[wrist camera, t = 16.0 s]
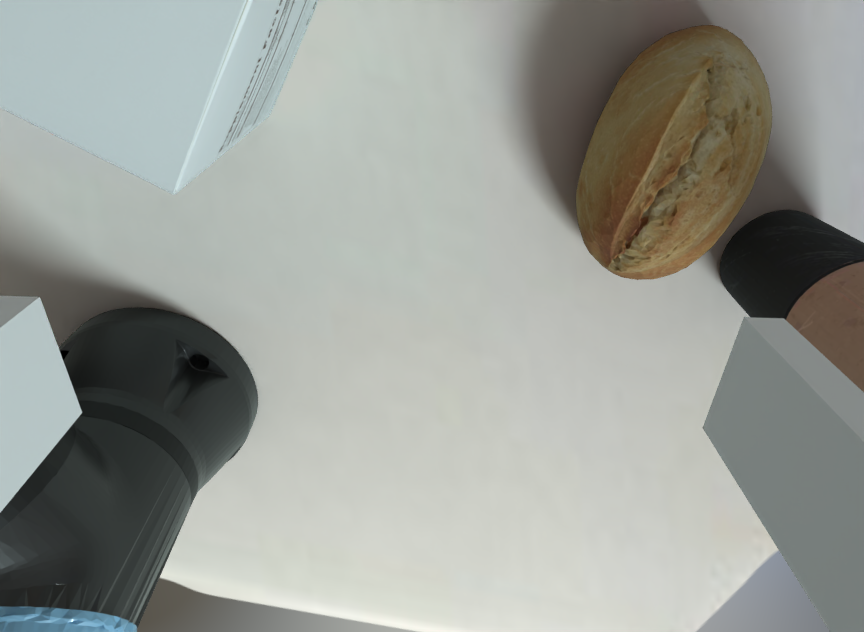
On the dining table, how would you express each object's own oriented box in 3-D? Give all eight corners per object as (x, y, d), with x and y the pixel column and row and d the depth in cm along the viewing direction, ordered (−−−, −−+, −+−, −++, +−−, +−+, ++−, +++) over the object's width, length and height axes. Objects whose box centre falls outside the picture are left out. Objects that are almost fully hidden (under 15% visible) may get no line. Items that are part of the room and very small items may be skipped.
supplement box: (121, 39, 32) (-87, 72, 19) (170, -131, 28) (-51, -234, 15) (269, 123, 34) (173, 204, 21) (333, -22, 30) (262, -31, 18)
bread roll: (539, 248, 39) (563, 303, 32) (608, 6, 31) (659, 10, 24) (670, 268, 40) (720, 327, 33) (768, 37, 32) (860, 50, 25)
